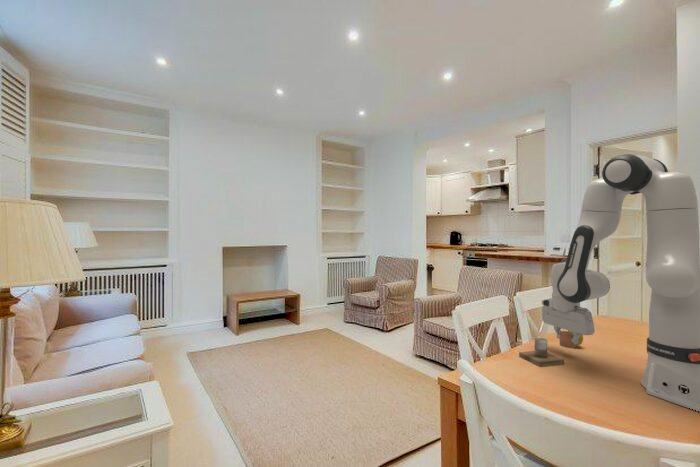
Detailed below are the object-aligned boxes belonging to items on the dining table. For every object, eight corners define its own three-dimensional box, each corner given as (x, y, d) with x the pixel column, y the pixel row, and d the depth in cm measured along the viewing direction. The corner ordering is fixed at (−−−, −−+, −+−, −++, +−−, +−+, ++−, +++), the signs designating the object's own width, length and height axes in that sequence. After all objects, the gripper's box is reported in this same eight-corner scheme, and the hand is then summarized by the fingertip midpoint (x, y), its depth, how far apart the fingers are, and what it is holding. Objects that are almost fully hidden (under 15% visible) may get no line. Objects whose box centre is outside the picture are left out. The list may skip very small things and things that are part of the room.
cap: (579, 347, 125) (578, 333, 125) (567, 348, 124) (567, 335, 124) (567, 343, 130) (567, 330, 130) (556, 344, 129) (556, 331, 129)
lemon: (582, 350, 132) (582, 329, 132) (565, 347, 136) (566, 327, 136) (583, 346, 137) (583, 326, 137) (567, 343, 140) (567, 324, 140)
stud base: (564, 364, 119) (564, 342, 119) (540, 366, 116) (540, 345, 116) (541, 353, 129) (541, 334, 128) (519, 356, 126) (519, 336, 126)
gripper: (598, 308, 117) (600, 348, 117) (551, 299, 137) (552, 333, 137) (583, 309, 116) (585, 350, 116) (538, 300, 136) (539, 334, 136)
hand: (567, 341), depth 127 cm, fingers closed on cap, 5 cm apart
